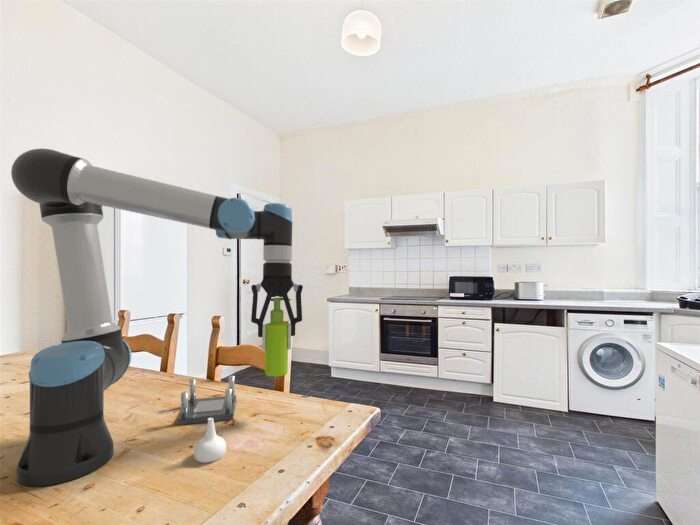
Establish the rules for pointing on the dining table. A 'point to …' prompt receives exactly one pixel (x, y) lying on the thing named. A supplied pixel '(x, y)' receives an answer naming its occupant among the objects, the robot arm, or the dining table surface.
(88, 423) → the robot arm
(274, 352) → the soap dispenser
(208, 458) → the garlic bulb
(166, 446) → the dining table surface
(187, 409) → the display stand
